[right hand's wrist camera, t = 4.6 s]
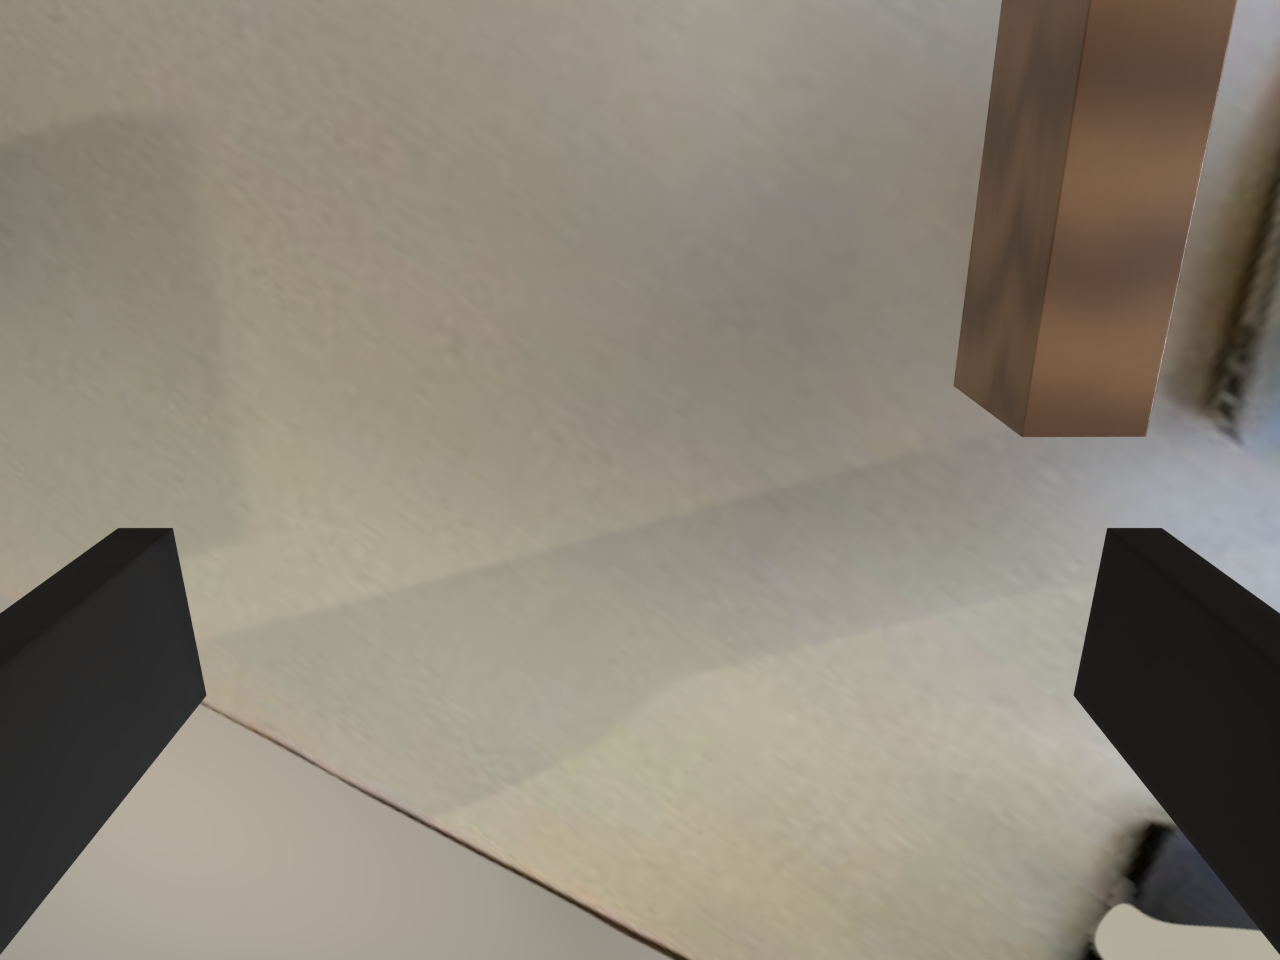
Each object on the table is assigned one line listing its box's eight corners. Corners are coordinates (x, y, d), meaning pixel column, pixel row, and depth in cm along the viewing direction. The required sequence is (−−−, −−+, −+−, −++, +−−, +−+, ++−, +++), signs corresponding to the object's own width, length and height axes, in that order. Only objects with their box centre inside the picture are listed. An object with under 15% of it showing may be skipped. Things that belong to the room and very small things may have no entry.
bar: (1056, 385, 42) (1146, 436, 34) (953, 386, 42) (1021, 437, 34) (1164, -263, 33) (1318, -382, 26) (1034, -263, 33) (1149, -382, 26)
